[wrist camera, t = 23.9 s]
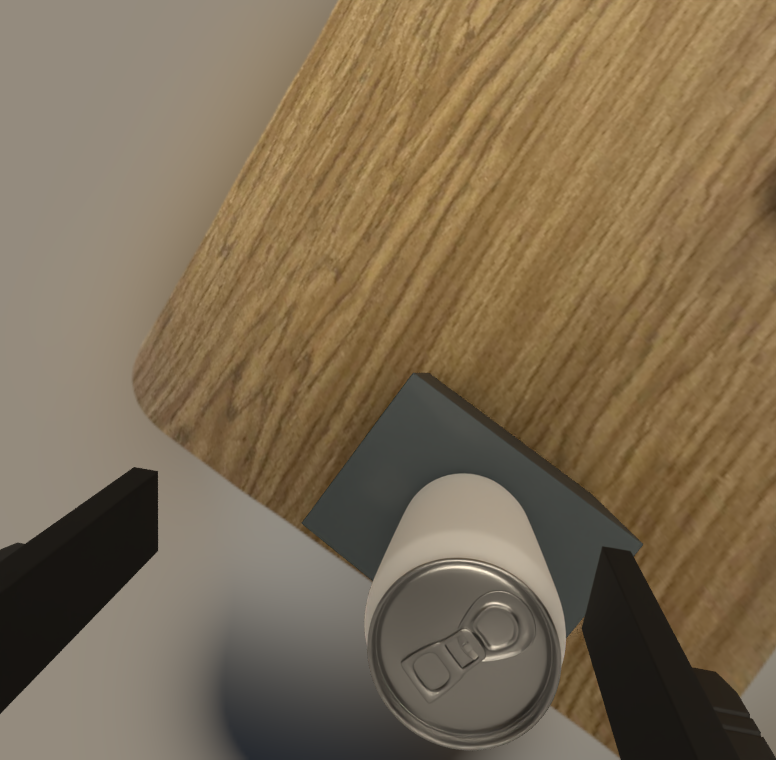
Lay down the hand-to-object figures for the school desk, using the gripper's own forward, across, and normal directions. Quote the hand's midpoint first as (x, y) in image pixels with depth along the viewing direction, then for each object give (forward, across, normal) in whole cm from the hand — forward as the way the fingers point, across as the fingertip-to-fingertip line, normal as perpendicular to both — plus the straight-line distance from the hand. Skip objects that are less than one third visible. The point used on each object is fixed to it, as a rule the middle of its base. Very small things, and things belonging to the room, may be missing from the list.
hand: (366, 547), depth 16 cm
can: (+11, +4, -6) cm, 13 cm away
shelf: (+22, +4, -8) cm, 24 cm away
